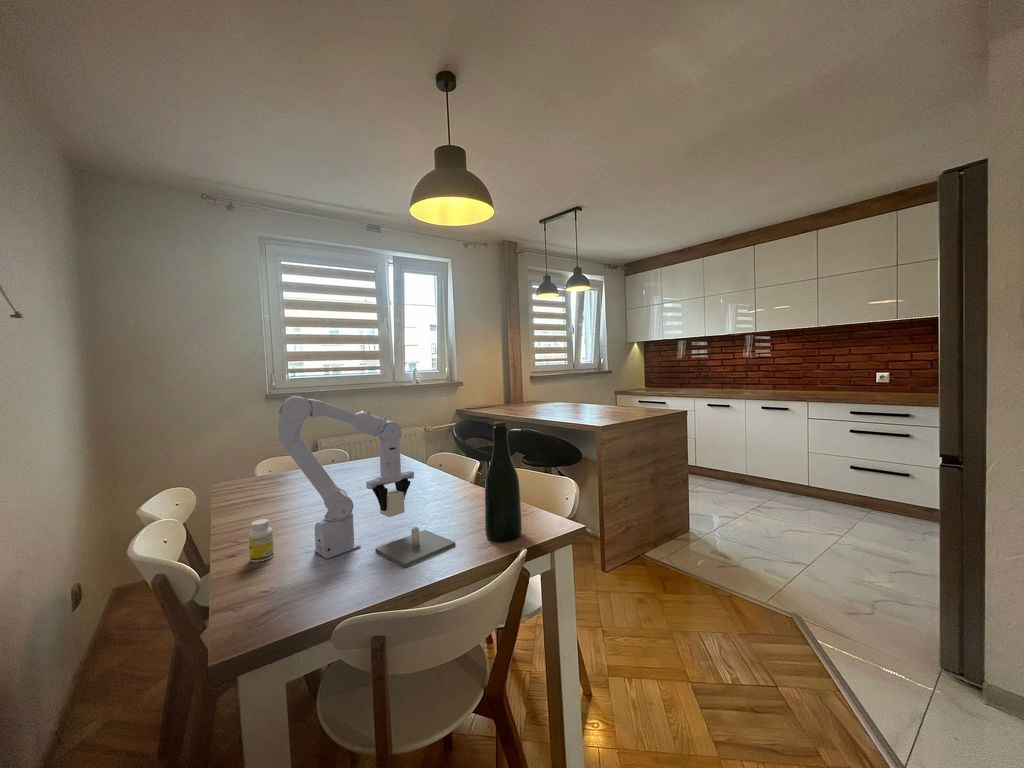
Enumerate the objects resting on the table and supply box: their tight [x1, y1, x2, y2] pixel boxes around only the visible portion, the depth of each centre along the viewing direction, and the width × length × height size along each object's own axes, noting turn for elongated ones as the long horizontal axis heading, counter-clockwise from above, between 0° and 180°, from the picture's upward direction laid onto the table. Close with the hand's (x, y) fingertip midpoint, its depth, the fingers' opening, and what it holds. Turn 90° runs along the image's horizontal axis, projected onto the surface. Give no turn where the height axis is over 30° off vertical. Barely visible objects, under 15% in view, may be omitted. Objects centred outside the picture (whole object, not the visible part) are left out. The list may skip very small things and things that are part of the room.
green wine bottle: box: [484, 421, 523, 543], centre depth 115 cm, size 10×10×33 cm
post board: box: [374, 526, 456, 569], centre depth 109 cm, size 16×14×6 cm
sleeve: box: [379, 488, 405, 518], centre depth 118 cm, size 5×5×6 cm
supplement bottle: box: [248, 518, 275, 563], centre depth 106 cm, size 5×5×10 cm
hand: (392, 507), depth 118 cm, fingers closed on sleeve, 5 cm apart
